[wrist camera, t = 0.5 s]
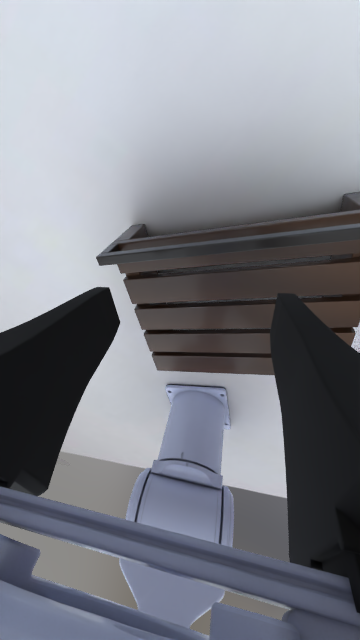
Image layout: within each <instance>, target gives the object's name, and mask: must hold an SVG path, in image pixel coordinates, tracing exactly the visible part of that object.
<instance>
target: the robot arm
mask: <svg viewBox="0 0 360 640" xmlns="http://www.w3.org/2000/svg"><path fill="white" fill-rule="evenodd" d="M119 325H120V320H119V317H118V314H117V311H116V308H115V304H114V301H113V298H112V295H111V292H110V289H109V287H96V288H93V289H91V290H89V291H87V292H85V293H83V294H81V295H79V296H77V297H75V298H73V299H71V300H69V301H67V302H65V303H64V304H62V305H60V306H58V307H56V308H54V309H52V310H50V311H48V312H46V313H44V314H42V315H40V316H38V317H36V318H34V319H32V320H30V321H28V322H25V323H23V324H21V325H19V326H16V327H14V328H11V329H9V330H6V331H4V332H1V333H0V522H1V523H5V524H8V525H11V526H15V527H18V528H22V529H25V530H28V531H31V532H35V533H38V534H41V535H44V536H48V537H51V538H54V539H58V540H61V541H64V542H67V543H71V544H74V545H77V546H81V547H84V548H87V549H91V550H94V551H97V552H101V553H104V554H107V555H110V556H114V557H117V558H120V560H119V563H120V567H121V570H122V572H123V574H124V577H125V579H126V581H127V583H128V585H129V587H130V589H131V591H132V593H133V596H134V598H135V600H136V603H137V606H138V610H136V609H133V608H130V607H127V606H124V605H121V604H118V603H115V602H112V601H110V600H106V599H103V598H100V597H97V596H94V595H92V594H89V593H85V592H82V591H79V590H77V589H73V588H70V587H67V586H64V585H61V584H58V583H55V582H52V581H49V580H46V579H43V578H40V577H37V576H34V575H32V571H33V568H34V566H35V564H36V562H37V560H38V558H39V556H40V550H39V549H36V548H34V547H31V546H28V545H26V544H23V543H21V542H18V541H15V540H12V539H10V538H8V537H6V536H3V535H1V534H0V640H360V353H358V352H357V351H356V350H354V349H353V348H352V347H351V346H349V345H348V344H347V343H346V342H345V341H343V340H342V339H341V338H340V337H339V336H338V335H336V334H335V333H334V332H333V331H332V330H331V329H330V328H329V327H327V326H326V325H325V324H324V323H323V322H322V321H321V320H320V319H319V318H318V317H317V316H316V315H315V314H314V313H313V312H312V311H311V310H310V309H309V308H308V307H307V306H306V305H305V304H304V303H303V302H302V301H301V300H300V299H299V297H298V296H297V295H296V294H291V293H278V294H277V299H276V304H275V309H274V314H273V319H272V324H271V329H270V347H271V357H272V363H273V368H274V374H275V379H276V384H277V389H278V395H279V400H280V406H281V413H282V424H283V436H284V450H285V465H286V483H287V501H288V530H289V558H290V562H286V561H282V560H278V559H274V558H270V557H266V556H263V555H259V554H255V553H252V552H248V551H244V550H240V549H236V548H232V543H233V528H234V501H233V495H232V494H231V492H230V491H229V488H228V487H227V486H222V479H223V476H222V475H221V461H222V446H223V431H224V429H230V418H229V410H228V402H227V394H226V390H225V389H224V388H212V387H195V386H178V385H167V386H166V387H165V389H166V392H167V395H168V397H169V400H170V403H171V405H172V406H171V410H170V414H169V418H168V422H167V425H166V429H165V433H164V437H163V441H162V445H161V449H160V452H159V456H158V460H154V462H153V465H152V468H146V469H145V470H144V471H143V472H142V473H140V475H139V476H138V478H137V480H136V483H135V485H134V488H133V491H132V494H131V497H130V501H129V505H128V509H127V514H126V519H122V518H118V517H114V516H110V515H107V514H103V513H99V512H95V511H91V510H88V509H84V508H80V507H76V506H72V505H68V504H65V503H61V502H57V501H53V500H49V499H45V498H42V497H38V496H39V495H41V494H42V493H44V492H45V491H46V490H47V489H48V486H49V483H50V480H51V477H52V474H53V471H54V468H55V464H56V462H57V458H58V455H59V452H60V450H61V447H62V444H63V442H64V439H65V436H66V433H67V431H68V428H69V426H70V423H71V421H72V418H73V416H74V413H75V411H76V409H77V406H78V404H79V402H80V400H81V397H82V395H83V393H84V391H85V389H86V387H87V385H88V383H89V381H90V379H91V378H92V376H93V374H94V372H95V371H96V369H97V367H98V366H99V364H100V362H101V361H102V359H103V357H104V356H105V354H106V352H107V350H108V349H109V347H110V345H111V343H112V342H113V340H114V337H115V335H116V333H117V330H118V327H119ZM225 590H227V591H230V592H233V593H236V594H240V595H243V596H246V597H249V598H253V599H256V600H259V601H262V602H266V603H269V604H272V605H276V606H279V607H283V608H286V609H289V610H288V611H287V612H286V613H284V615H283V617H282V620H278V619H274V618H271V617H268V616H265V615H261V614H258V613H254V612H250V611H247V610H243V609H239V608H236V607H233V606H229V605H225V604H222V603H219V602H220V601H221V600H222V598H223V597H224V594H225ZM210 609H211V623H210V636H208V635H205V634H202V633H199V632H197V631H194V630H191V629H190V626H191V624H192V623H193V622H194V621H195V620H197V619H198V618H199V617H200V616H202V615H203V614H204V613H206V612H207V611H208V610H210Z"/></svg>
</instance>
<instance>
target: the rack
mask: <svg viewBox="0 0 360 640" xmlns="http://www.w3.org/2000/svg"><path fill="white" fill-rule="evenodd" d="M330 255H332V256H331V260H320V261H308V262H296V263H284V264H271V265H259V266H247V267H235V268H223V269H211V270H199V271H186V272H174V273H162V274H158V272H157V270H168V269H180V268H191V267H203V266H214V265H226V264H237V263H249V262H260V261H272V260H284V259H295V258H307V257H318V256H330ZM96 259H97V261H98V263H99V265H100V266H102V265H112V264H117V265H118V267H119V270H120V273H121V274H122V273H125V274H126V277H125V279H124V283H125V286H126V289H127V291H128V294H129V296H130V299H131V302H132V304H137V306H136V307H135V309H134V310H135V313H136V315H137V318H138V320H139V323H140V326H141V328H142V330H146V331H145V333H144V336H145V339H146V341H147V344H148V347H149V349H150V351H151V352H153V354H152V357H153V360H154V363H155V365H156V368H157V370H159V371H184V372H208V373H233V374H258V375H275V374H274V368H273V363H272V357H271V347H270V329H242V328H271V324H272V319H273V314H274V309H275V304H276V299H273V300H249V301H226V302H203V303H180V304H166V302H187V301H209V300H231V299H253V298H275V297H277V294H278V293H291V294H296V295H297V296H319V295H323V297H319V298H299V299H300V300H301V301H302V302H303V303H304V304H305V305H306V306H307V307H308V308H309V309H310V310H311V311H312V312H313V313H314V314H315V315H316V316H317V317H318V318H319V319H320V320H321V321H322V322H323V323H324V324H325V325H326V326H327V327H329V328H330V329H331V330H332V331H333V332H334V333H335V334H336V335H338V336H339V337H340V338H341V339H342V340H343V341H345V342H346V343H347V344H348V345H349V346H351V345H352V342H353V339H354V336H355V331H354V329H353V327H358V325H359V322H360V192H357V193H350V194H345V195H344V196H343V201H342V206H341V211H340V212H337V213H330V214H322V215H314V216H307V217H299V218H291V219H284V220H276V221H268V222H261V223H253V224H245V225H238V226H230V227H222V228H215V229H207V230H199V231H192V232H184V233H176V234H169V235H161V236H153V237H148V235H147V232H146V228H145V225H144V224H141V225H134V226H131V227H130V228H129V229H127V230H126V231H125V232H124V233H123V234H122V235H121V236H120V237H118V238H117V239H116V240H115V241H114V242H113V243H112V244H110V245H109V246H108V247H107V248H106V249H105V250H104V251H103V252H102V253H101V254H99V255H98V256H97V257H96ZM173 329H197V330H173Z"/></svg>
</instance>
